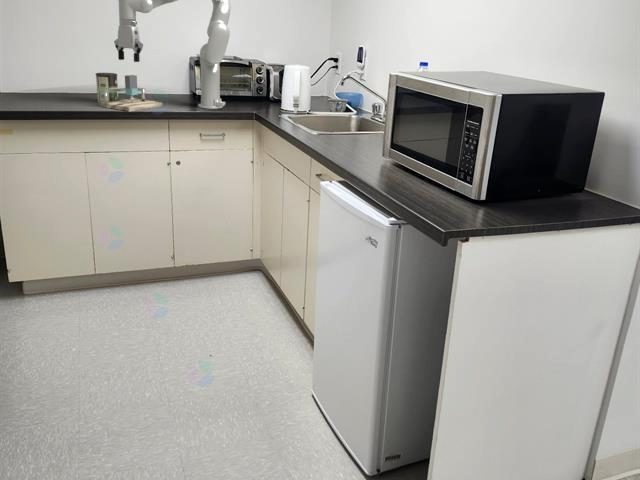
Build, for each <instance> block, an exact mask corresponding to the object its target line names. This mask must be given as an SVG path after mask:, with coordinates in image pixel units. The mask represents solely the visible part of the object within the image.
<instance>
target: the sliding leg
mask: <svg viewBox="0 0 640 480" xmlns="http://www.w3.org/2000/svg"><path fill="white" fill-rule="evenodd" d="M124 84H125V87H124V88H125V91H124V92H125V95H128V96H129V97H130V98H129V99H131V102H134V100H133V99H134V96H135V95H136V96H138V95H139V91H138V90H137V87H138V75H137V74H136V75H133V74H127V75H124Z"/></svg>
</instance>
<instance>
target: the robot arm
mask: <svg viewBox="0 0 640 480" xmlns="http://www.w3.org/2000/svg"><path fill="white" fill-rule="evenodd" d="M177 1H178V0H118V17H119V21H118V23H119V25H118V29H117V38H116V39H115V40H113V43H114V45H115V48H116V51H117V57H118V61H123V60H125V52H124V50H125V49H132V50H133V52H134V53H133V62H134V63H140V61H141V59H140V54H141V51H142V50H143V48H144V44H143V43H142V42H141V40H140V39H141V38H140V33H139V27H138V26H137V25H138V22H137V17H136V16H137V12H139V13H143V14H147V13H148V14H149V13H150V12H151V11H152V10H154V9H156V8H158V7H159V8H160V7H161V6H163V5H167V4H171V3H174V2H177ZM211 2H212V13H211V17H210V19H209V20H210V21H209V22H208V23H209V24H208V26H207V30H206V33H207V37H208V40H207V42H206V43H205V44H203V45H202V46H201V48H200V50H199V61H200V103H198V104H197V108H200V109H207V110H208V109H212V110H215V109H216V110H218V109H222V108H223V107H224V106H226V101H222V98H221V96H220V95H221V91H220V90H221V88H220V87H221V86H220V85H221V79H220V78H221V69H220V68H221V67H220V63H221V62H222V61H223V59H224V57H225V54H226V50H227V48H228V44H229V40H230V35H231V33H230V28H229V26H228V24H229V19H230V14H231V1H230V0H211Z"/></svg>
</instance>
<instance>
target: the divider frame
mask: <svg viewBox="0 0 640 480" xmlns="http://www.w3.org/2000/svg"><path fill="white" fill-rule="evenodd" d="M137 90H138V92H141V99H142V101H145V100H146V94H145V93H146V88H145V87H139V86H137ZM109 92H118V93H119V92H126V91H125V87H121V88H120V87H118V89H109V90H104V95H105V103H108V101H107V93H109Z"/></svg>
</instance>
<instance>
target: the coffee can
mask: <svg viewBox="0 0 640 480" xmlns="http://www.w3.org/2000/svg"><path fill="white" fill-rule="evenodd" d="M95 79H96V80H95V81H96V82H95V83H96V93H97V103H100V104H101V103H103V102H105V95H104V90H109V89H118V88H119V87H118V86H119V85H118V73H115V72H96V73H95ZM119 100H120V99H119V91H118V92H109V93H107V101H108V102H111V101H119Z"/></svg>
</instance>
